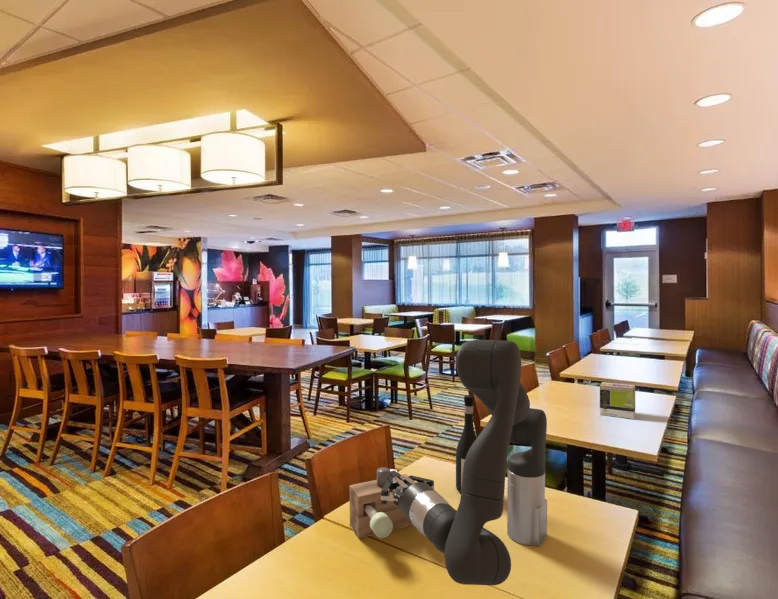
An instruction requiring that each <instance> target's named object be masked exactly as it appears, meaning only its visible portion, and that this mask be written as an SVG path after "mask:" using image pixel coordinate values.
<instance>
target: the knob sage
mask: <svg viewBox="0 0 778 599" xmlns="http://www.w3.org/2000/svg"><path fill="white" fill-rule="evenodd" d="M363 509H364V511H365V512H366V513H367V515H368V516H369V517H370V518H371V520H370V527H371V529H372V531H373V532H374V533H375V535H374V536H376V537H377V538H379V539H384V538H387V537H389V535H390V534H391V533H392V531H393V530H392V529H393V523H392V521H391V520H390V519H389V517H388V516H387V515H386V514H385V513H383V512H378V513H377V511H376V510H375V509H374V508H373V506H372V505H371V504H370V503H367V504H363Z"/></svg>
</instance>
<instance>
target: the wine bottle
mask: <svg viewBox="0 0 778 599" xmlns="http://www.w3.org/2000/svg"><path fill="white" fill-rule="evenodd" d="M474 401H475V397H474V396H473V395H471V394H470V395H469V394H467V395H464V396H463V402H464V424H463V430H462V433H461V434H460V435H461V436H460V438H459V440H458V443H457V446H456V452H455V488H456V490H457V491H458V492H459V493H460V494H461V493H462V492H461V486H462V476H463V467H464V462H465V458H466V455H467V453H468V451H469V449H470V447H471V446H472V444H473V443H474V441H475V440H476V438H477V437H478V436H477V434H476V432H475V428H474Z"/></svg>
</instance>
